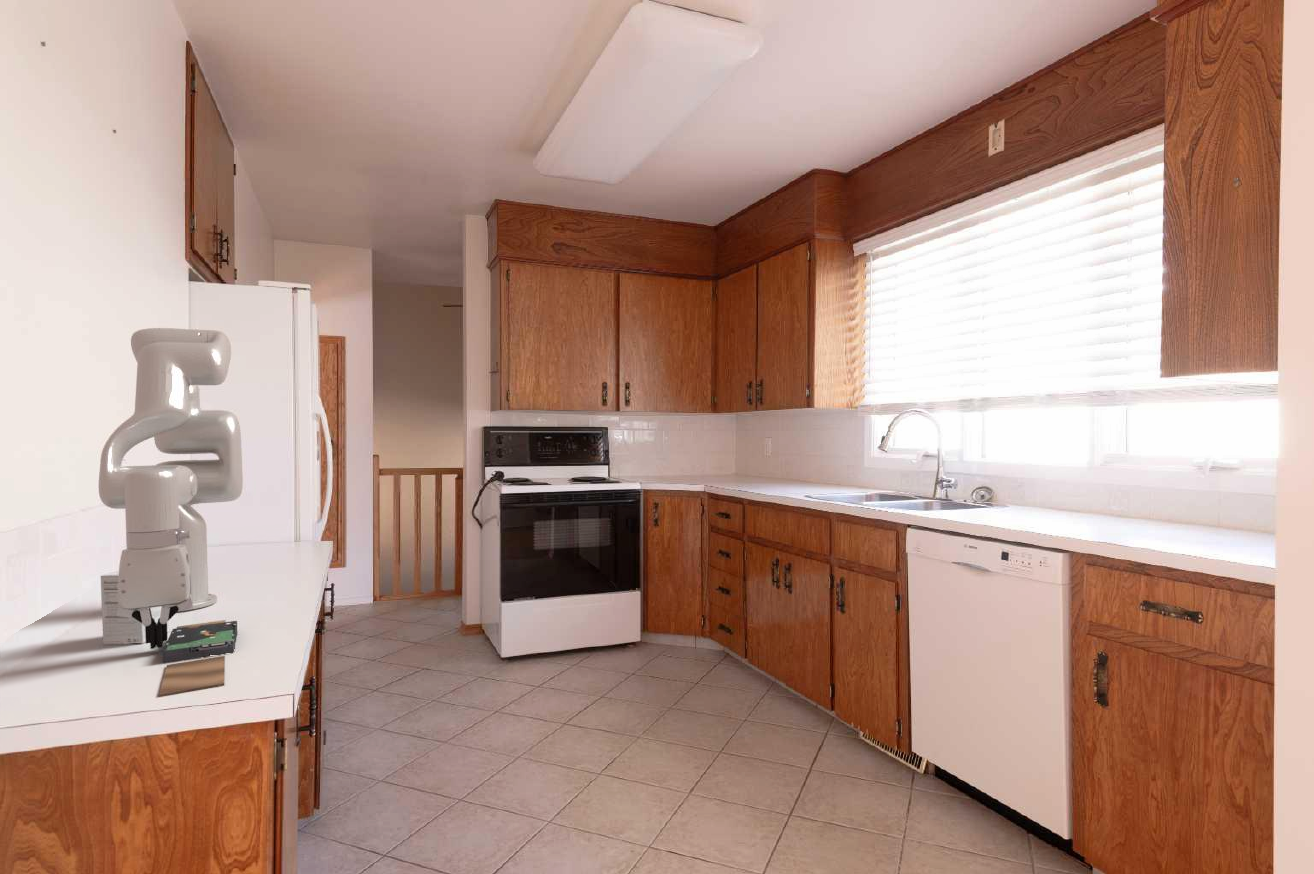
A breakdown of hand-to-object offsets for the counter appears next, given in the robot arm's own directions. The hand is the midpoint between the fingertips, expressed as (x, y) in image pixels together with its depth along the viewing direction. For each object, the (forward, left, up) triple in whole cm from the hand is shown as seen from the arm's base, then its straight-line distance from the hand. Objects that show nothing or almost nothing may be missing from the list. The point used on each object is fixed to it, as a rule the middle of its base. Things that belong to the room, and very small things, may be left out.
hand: (156, 645), depth 122 cm
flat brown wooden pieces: (+4, +6, -1) cm, 7 cm away
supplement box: (-12, -4, -1) cm, 13 cm away
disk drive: (0, +7, -2) cm, 7 cm away
